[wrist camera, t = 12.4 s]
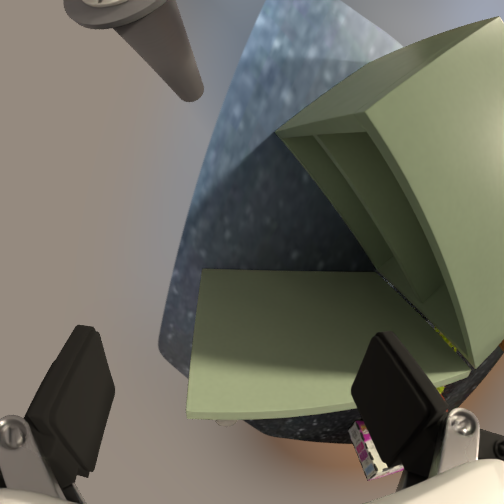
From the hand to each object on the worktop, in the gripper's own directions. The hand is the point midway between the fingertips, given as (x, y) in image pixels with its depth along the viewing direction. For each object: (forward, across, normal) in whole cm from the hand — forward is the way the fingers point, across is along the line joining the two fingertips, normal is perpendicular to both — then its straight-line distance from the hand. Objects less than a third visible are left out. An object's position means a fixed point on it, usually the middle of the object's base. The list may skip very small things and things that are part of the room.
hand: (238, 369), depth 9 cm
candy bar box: (+29, -38, +52) cm, 71 cm away
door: (+29, -11, +14) cm, 34 cm away
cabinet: (+30, -21, -6) cm, 37 cm away
